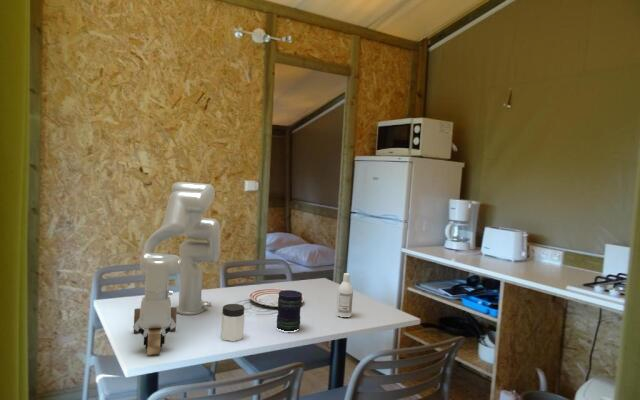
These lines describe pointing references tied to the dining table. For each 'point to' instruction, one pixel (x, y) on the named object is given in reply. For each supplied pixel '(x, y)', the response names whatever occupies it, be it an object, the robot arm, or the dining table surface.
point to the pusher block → (154, 341)
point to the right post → (173, 317)
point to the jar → (232, 322)
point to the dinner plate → (265, 292)
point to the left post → (136, 318)
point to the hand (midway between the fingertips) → (154, 345)
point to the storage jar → (289, 310)
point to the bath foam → (345, 297)
